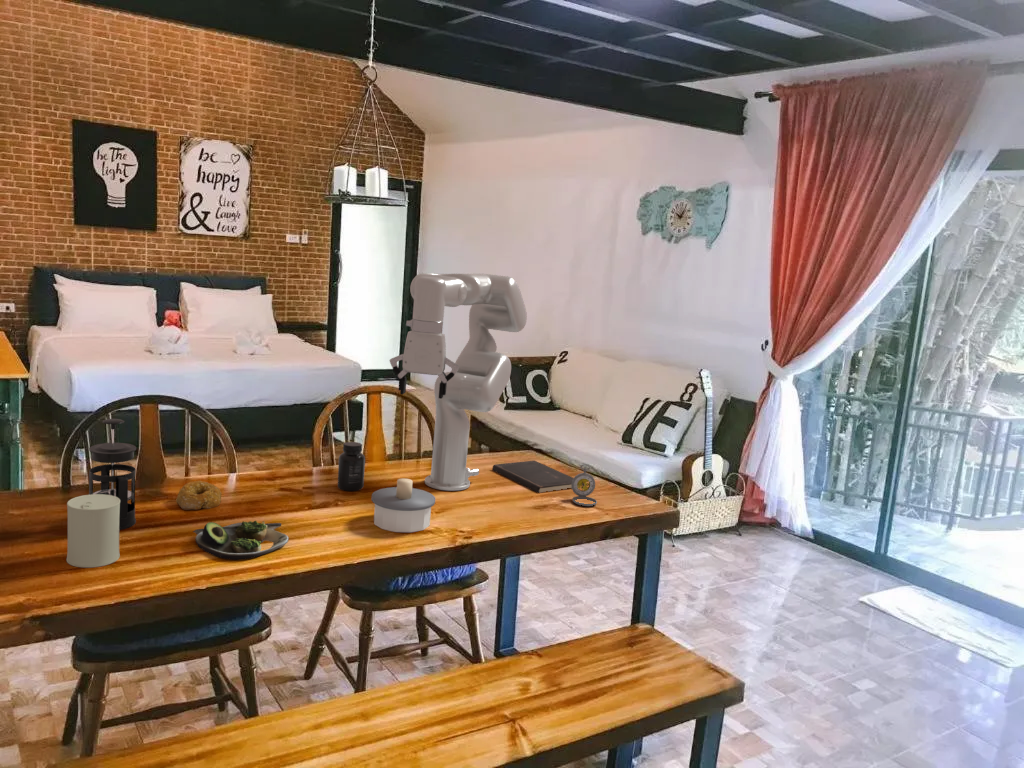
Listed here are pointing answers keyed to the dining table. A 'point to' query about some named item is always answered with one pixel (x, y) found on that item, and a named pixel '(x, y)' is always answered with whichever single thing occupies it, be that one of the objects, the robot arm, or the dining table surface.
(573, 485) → the pocket watch
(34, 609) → the dining table surface
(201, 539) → the salad plate
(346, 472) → the supplement bottle
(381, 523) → the bowl
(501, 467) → the hardcover book
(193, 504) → the bagel
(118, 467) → the french press
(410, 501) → the lid
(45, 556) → the dining table surface
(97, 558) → the can
